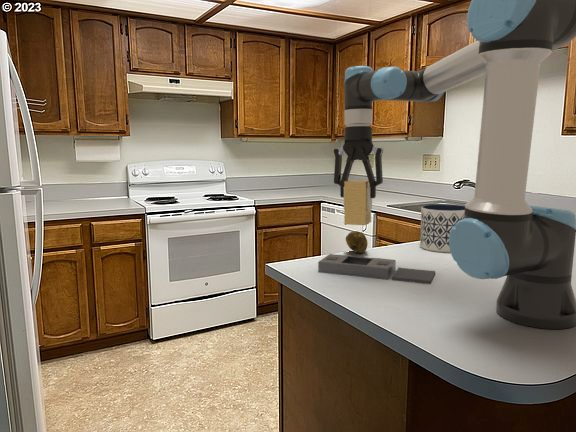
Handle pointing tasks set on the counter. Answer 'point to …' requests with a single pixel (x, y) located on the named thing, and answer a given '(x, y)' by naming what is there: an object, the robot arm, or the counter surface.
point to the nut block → (356, 202)
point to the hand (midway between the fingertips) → (357, 209)
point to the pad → (414, 275)
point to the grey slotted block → (357, 266)
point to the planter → (439, 225)
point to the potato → (357, 241)
